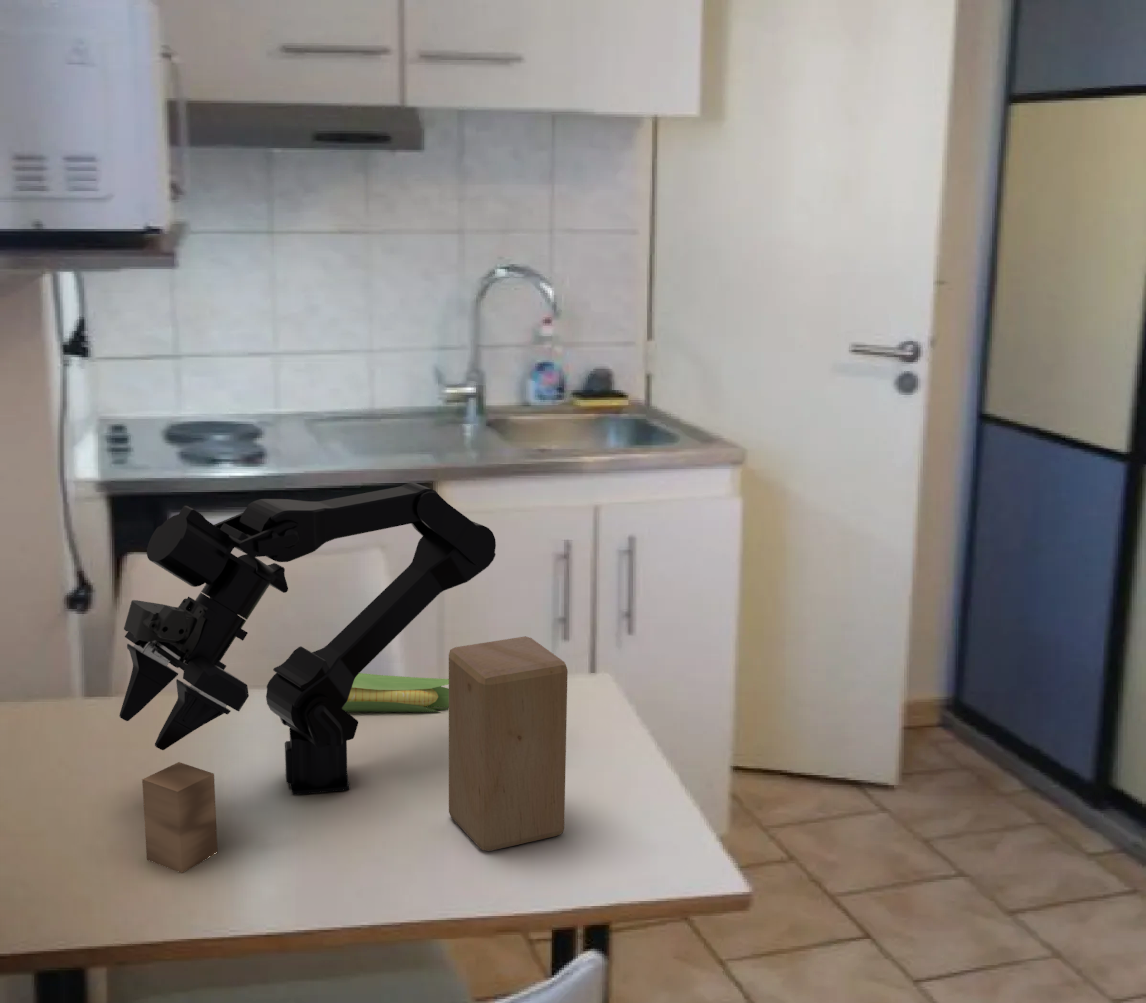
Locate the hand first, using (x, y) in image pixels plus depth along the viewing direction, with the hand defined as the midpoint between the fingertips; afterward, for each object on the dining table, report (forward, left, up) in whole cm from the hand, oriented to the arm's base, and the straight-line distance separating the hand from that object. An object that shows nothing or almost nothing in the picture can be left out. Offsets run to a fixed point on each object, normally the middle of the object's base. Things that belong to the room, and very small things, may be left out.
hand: (140, 733), depth 155 cm
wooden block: (-38, +6, -12) cm, 40 cm away
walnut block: (-4, +6, -11) cm, 14 cm away
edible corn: (-29, -29, -12) cm, 43 cm away
